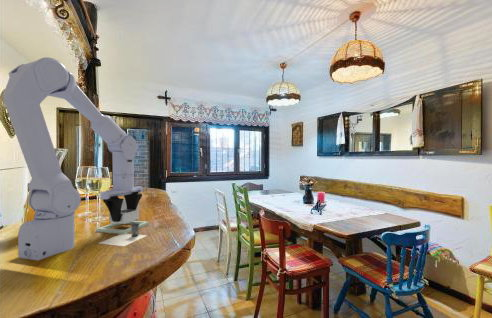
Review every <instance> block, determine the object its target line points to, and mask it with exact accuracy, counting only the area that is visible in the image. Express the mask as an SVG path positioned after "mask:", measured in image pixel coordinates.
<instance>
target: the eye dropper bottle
mask: <svg viewBox="0 0 492 318" xmlns="http://www.w3.org/2000/svg"><path fill="white" fill-rule="evenodd" d="M123 199H124V200H123V203H122V207H121V209H127V205H126V201H125V198H123ZM136 210H138V219H137V220H139V219H140V202H139V203H138V205H137V209H136Z"/></svg>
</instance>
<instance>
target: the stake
mask: <svg viewBox="0 0 492 318" xmlns="http://www.w3.org/2000/svg"><path fill="white" fill-rule="evenodd" d="M139 225H140V223H131V224H130V226H131V227H130V228H131V230H132V231H131V234H132V237H137V236H139V235H140V228H139Z"/></svg>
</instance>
